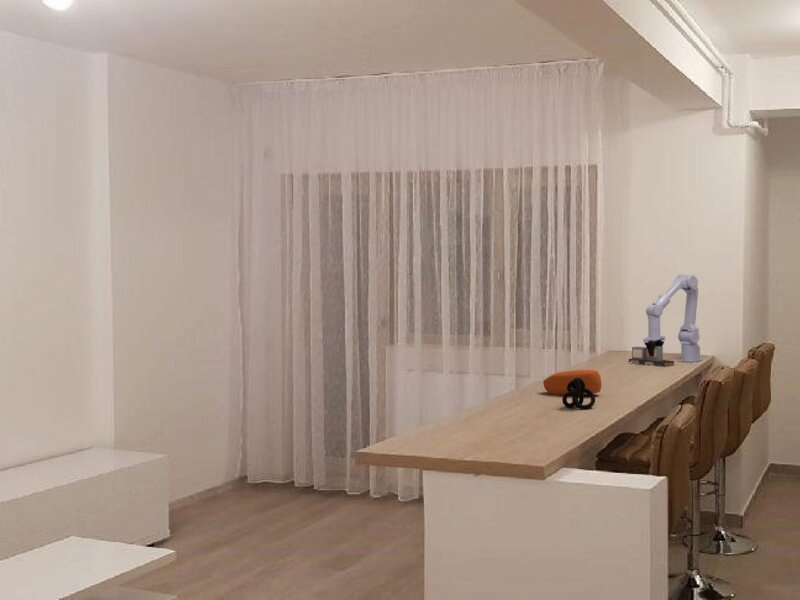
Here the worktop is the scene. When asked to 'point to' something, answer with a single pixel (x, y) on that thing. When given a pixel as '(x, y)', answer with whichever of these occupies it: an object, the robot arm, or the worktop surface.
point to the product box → (655, 354)
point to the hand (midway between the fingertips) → (654, 355)
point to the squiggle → (578, 394)
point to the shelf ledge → (653, 362)
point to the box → (639, 353)
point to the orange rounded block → (560, 380)
